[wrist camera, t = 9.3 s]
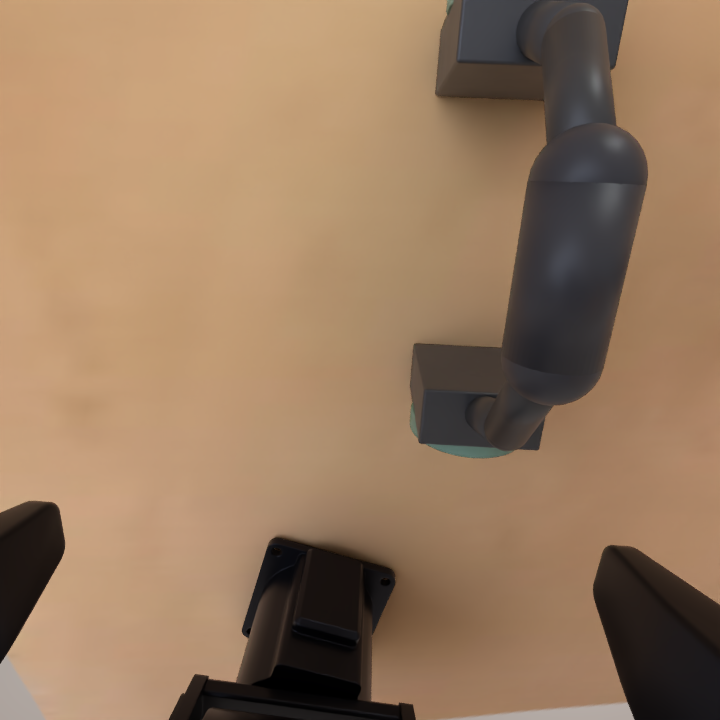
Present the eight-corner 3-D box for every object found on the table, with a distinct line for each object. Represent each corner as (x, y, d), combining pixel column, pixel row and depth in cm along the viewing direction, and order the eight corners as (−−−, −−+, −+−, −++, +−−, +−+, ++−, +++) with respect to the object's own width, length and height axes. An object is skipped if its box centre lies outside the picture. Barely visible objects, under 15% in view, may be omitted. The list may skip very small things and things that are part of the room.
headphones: (568, 11, 15) (880, -277, 6) (504, 405, 20) (615, 600, 11) (439, 7, 16) (537, -284, 6) (406, 399, 20) (430, 589, 11)
